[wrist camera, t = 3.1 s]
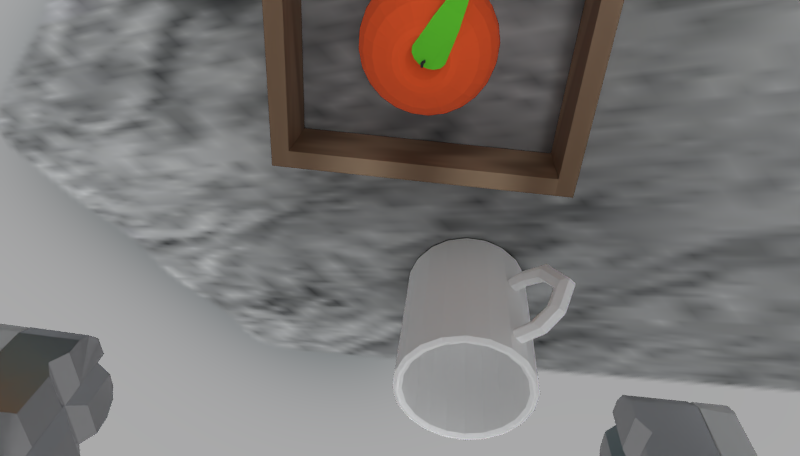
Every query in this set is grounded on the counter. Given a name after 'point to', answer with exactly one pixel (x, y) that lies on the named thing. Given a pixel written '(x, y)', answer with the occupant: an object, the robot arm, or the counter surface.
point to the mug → (472, 339)
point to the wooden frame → (430, 157)
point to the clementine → (429, 51)
